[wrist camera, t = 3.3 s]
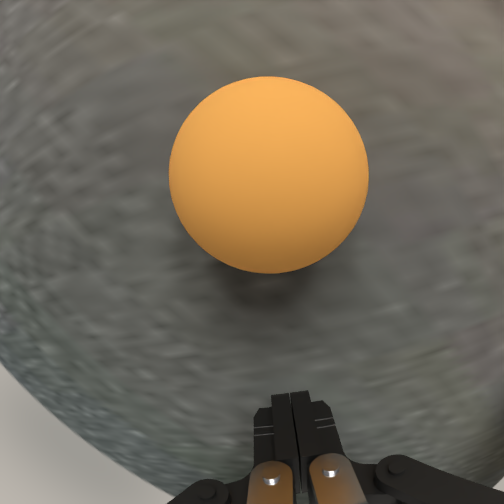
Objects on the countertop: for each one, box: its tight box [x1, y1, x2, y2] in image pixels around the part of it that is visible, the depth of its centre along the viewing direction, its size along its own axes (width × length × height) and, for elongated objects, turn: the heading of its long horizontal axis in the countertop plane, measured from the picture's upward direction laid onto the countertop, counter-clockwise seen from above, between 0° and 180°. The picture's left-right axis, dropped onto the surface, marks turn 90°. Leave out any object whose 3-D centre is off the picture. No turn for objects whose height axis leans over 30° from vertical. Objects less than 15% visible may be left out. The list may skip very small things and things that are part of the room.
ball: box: [169, 77, 369, 274], centre depth 9 cm, size 6×6×6 cm
